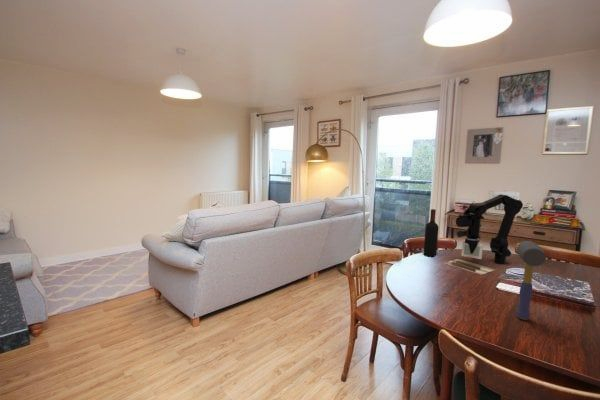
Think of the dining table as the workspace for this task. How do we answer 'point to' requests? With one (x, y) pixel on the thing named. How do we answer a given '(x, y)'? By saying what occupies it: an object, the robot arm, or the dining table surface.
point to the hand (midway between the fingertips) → (471, 252)
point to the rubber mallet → (528, 274)
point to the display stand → (469, 266)
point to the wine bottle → (431, 236)
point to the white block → (476, 253)
